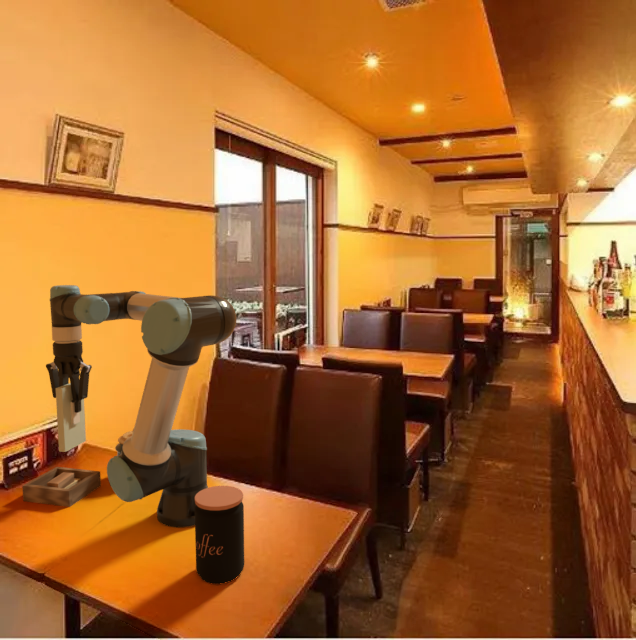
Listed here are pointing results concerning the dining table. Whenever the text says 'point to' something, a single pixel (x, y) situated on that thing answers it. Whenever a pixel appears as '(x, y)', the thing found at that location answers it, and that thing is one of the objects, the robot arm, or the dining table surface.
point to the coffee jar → (219, 533)
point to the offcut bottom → (73, 483)
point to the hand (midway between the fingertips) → (71, 422)
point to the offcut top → (61, 480)
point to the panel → (68, 420)
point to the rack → (60, 496)
